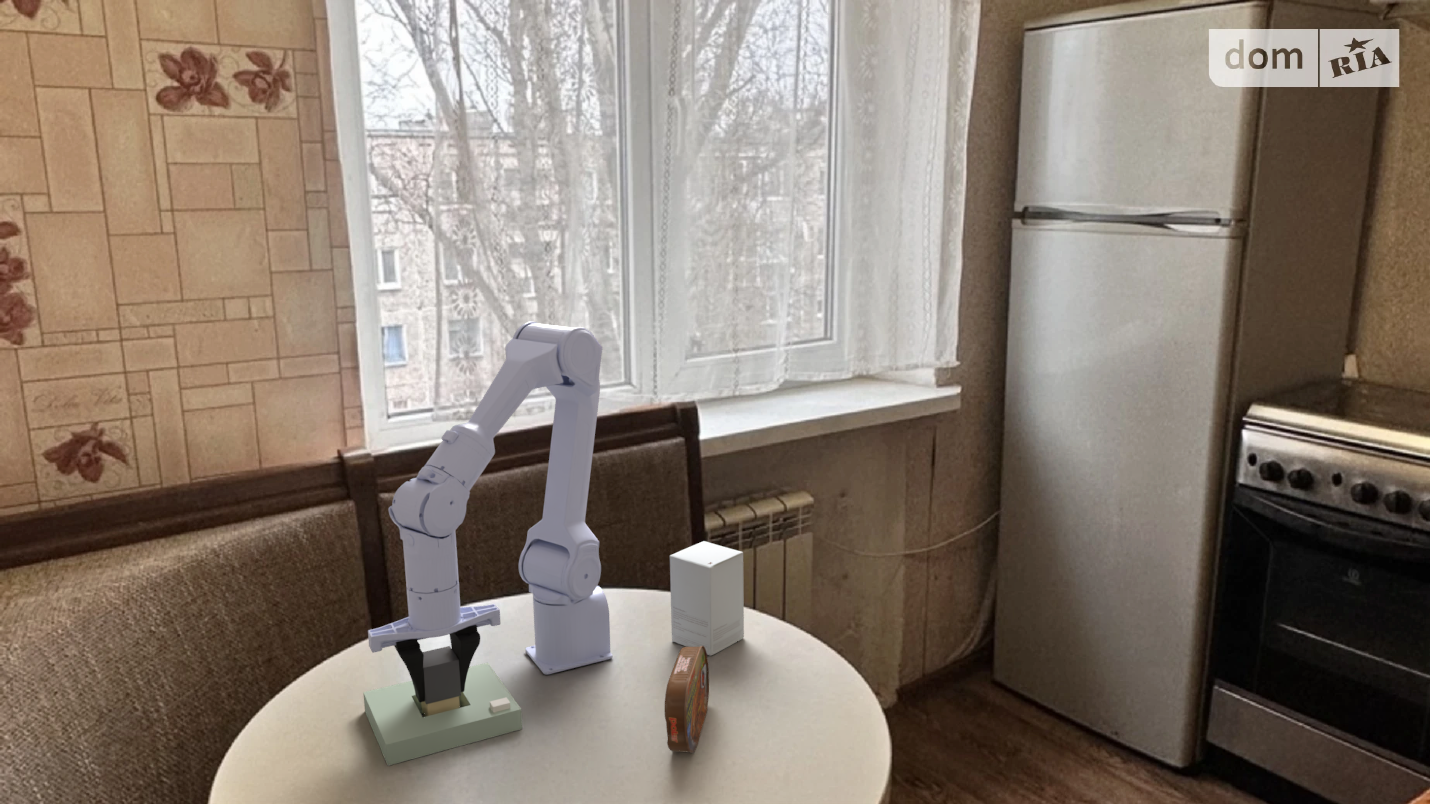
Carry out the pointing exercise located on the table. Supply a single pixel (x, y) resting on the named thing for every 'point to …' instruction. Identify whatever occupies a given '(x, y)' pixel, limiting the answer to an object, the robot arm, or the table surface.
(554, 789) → the table surface
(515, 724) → the socket panel
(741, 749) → the table surface
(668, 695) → the tin
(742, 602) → the supplement box
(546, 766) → the table surface
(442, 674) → the plug
